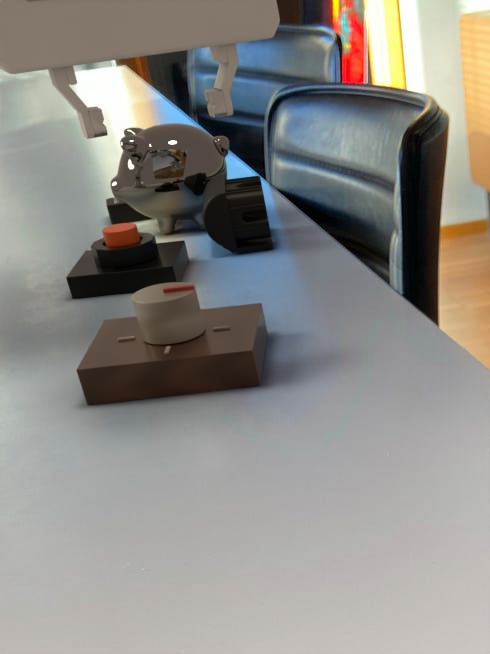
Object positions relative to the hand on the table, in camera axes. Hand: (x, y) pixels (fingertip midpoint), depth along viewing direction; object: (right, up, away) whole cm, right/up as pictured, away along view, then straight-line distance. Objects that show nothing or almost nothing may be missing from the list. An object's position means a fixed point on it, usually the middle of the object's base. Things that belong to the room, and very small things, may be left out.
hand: (160, 126), depth 75 cm
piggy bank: (-13, +14, +52) cm, 56 cm away
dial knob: (-2, -12, +11) cm, 16 cm away
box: (-14, +1, +35) cm, 38 cm away
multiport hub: (-19, +18, +59) cm, 64 cm away
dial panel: (-2, -15, +12) cm, 19 cm away
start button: (-14, +4, +33) cm, 36 cm away
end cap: (-4, +8, +44) cm, 45 cm away
